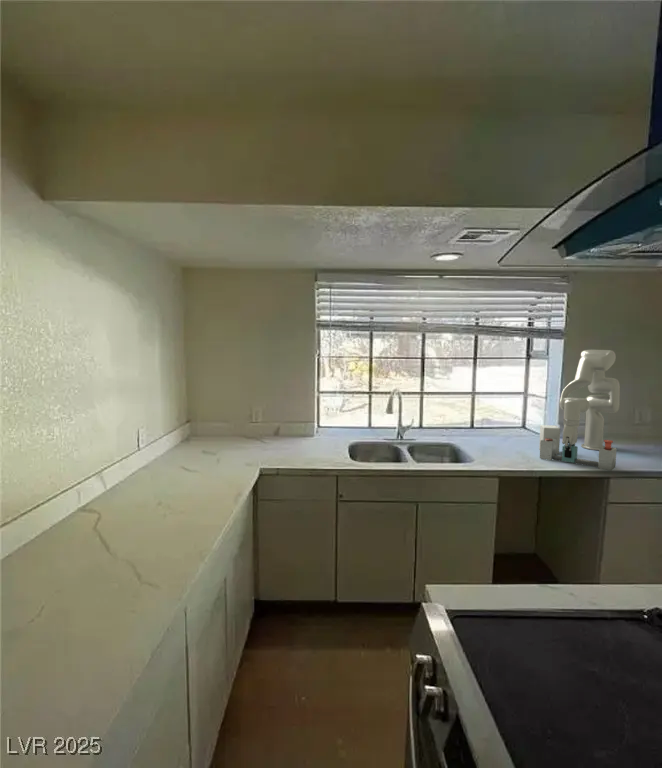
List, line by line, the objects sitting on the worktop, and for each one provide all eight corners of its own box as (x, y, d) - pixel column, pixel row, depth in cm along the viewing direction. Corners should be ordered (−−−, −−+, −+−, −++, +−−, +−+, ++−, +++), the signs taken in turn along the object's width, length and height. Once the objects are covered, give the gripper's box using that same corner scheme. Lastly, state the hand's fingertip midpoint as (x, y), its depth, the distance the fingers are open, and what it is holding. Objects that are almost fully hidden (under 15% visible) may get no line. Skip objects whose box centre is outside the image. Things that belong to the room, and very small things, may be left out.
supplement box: (559, 454, 264) (560, 428, 262) (542, 453, 265) (543, 427, 264) (555, 450, 272) (556, 425, 271) (538, 449, 274) (540, 424, 273)
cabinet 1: (544, 455, 261) (545, 436, 260) (556, 457, 257) (557, 438, 256) (539, 458, 255) (540, 439, 254) (551, 460, 251) (552, 441, 250)
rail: (554, 458, 255) (554, 454, 255) (600, 466, 240) (601, 462, 240) (552, 459, 253) (552, 455, 253) (599, 467, 238) (599, 463, 237)
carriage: (564, 458, 252) (565, 444, 252) (576, 460, 248) (577, 446, 248) (561, 460, 249) (562, 446, 248) (574, 462, 245) (574, 448, 244)
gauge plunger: (604, 448, 239) (604, 439, 238) (613, 449, 236) (613, 440, 235) (602, 449, 236) (602, 440, 235) (611, 450, 233) (612, 441, 232)
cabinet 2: (602, 465, 242) (603, 446, 241) (615, 467, 238) (616, 448, 237) (598, 468, 236) (599, 449, 235) (611, 470, 232) (612, 451, 231)
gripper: (568, 419, 255) (567, 452, 257) (558, 424, 243) (556, 458, 245) (583, 421, 250) (582, 454, 252) (574, 426, 238) (572, 461, 240)
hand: (569, 456), depth 248 cm, fingers closed on carriage, 5 cm apart
